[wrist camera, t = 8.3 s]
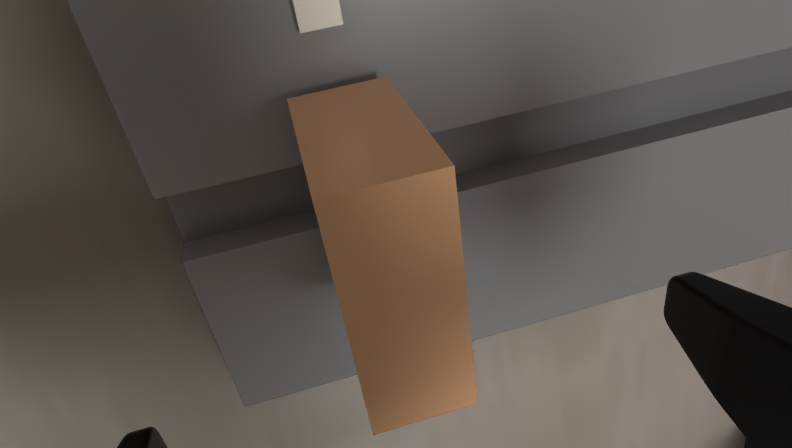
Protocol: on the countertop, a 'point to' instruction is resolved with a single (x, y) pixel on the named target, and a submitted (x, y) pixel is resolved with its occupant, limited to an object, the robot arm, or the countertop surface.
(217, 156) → the console
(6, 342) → the countertop surface
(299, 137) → the tan rectangular block
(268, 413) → the countertop surface
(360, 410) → the countertop surface
